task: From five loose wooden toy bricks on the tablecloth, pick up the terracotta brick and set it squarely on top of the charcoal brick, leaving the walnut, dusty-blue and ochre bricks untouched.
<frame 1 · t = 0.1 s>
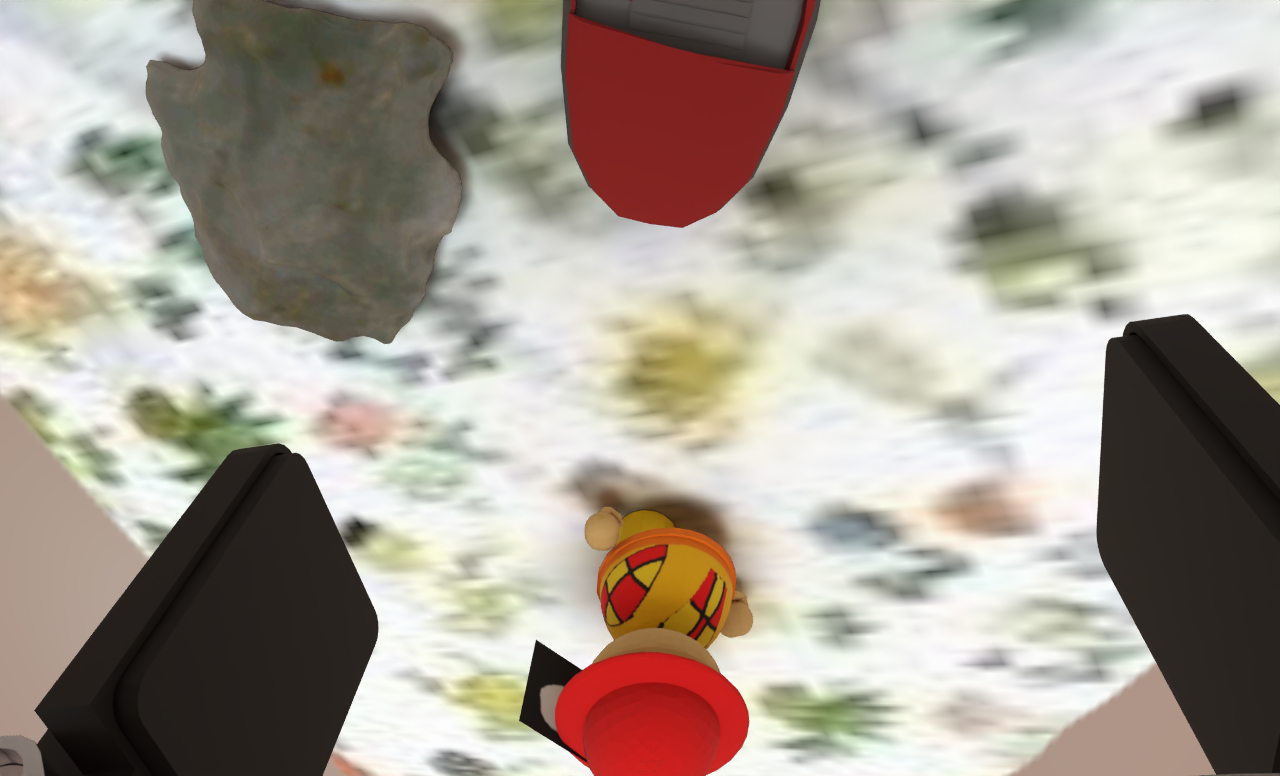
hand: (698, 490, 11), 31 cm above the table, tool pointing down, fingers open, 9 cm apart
artifact: (321, 166, 42), on the table
toy: (660, 549, 52), on the table
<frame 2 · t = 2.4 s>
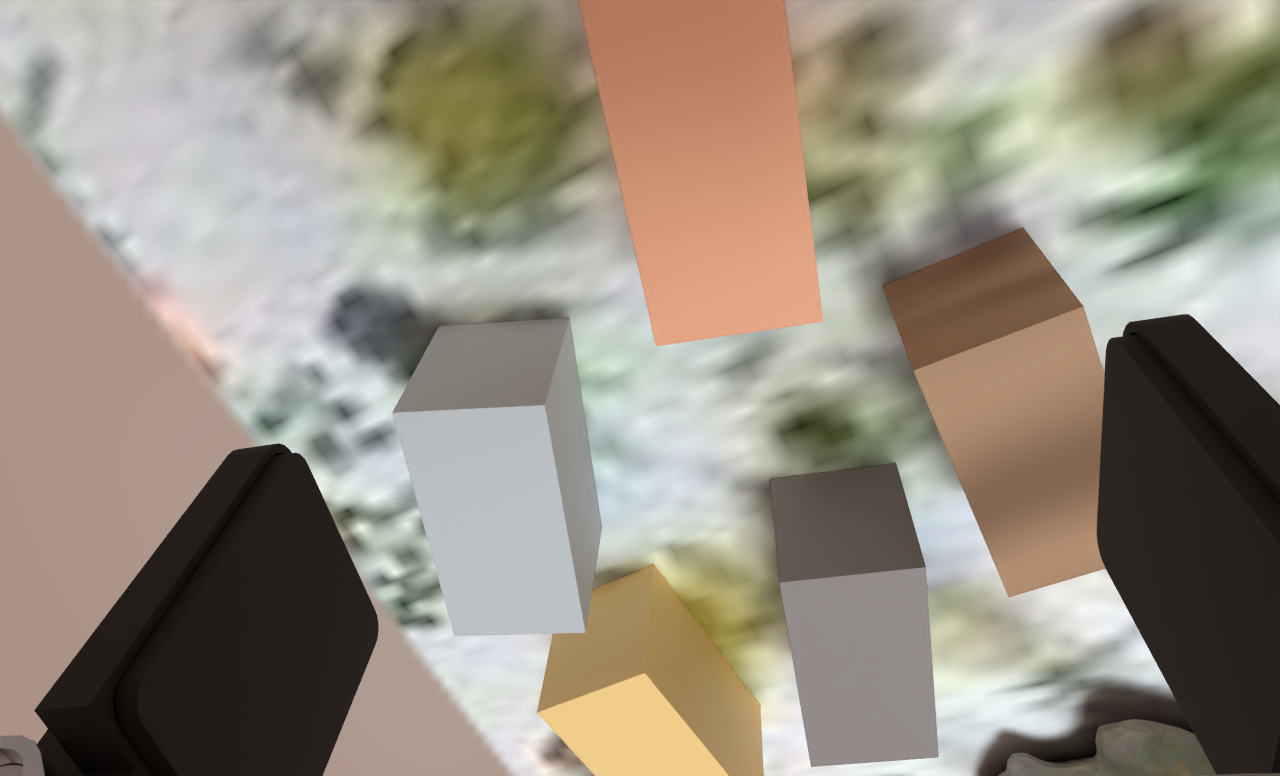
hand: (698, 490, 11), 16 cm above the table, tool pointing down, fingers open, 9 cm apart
terracotta brick: (711, 111, 25), on the table
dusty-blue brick: (526, 430, 30), on the table
ochre brick: (662, 652, 35), on the table
charcoal brick: (843, 562, 32), on the table
walnut brick: (992, 367, 28), on the table
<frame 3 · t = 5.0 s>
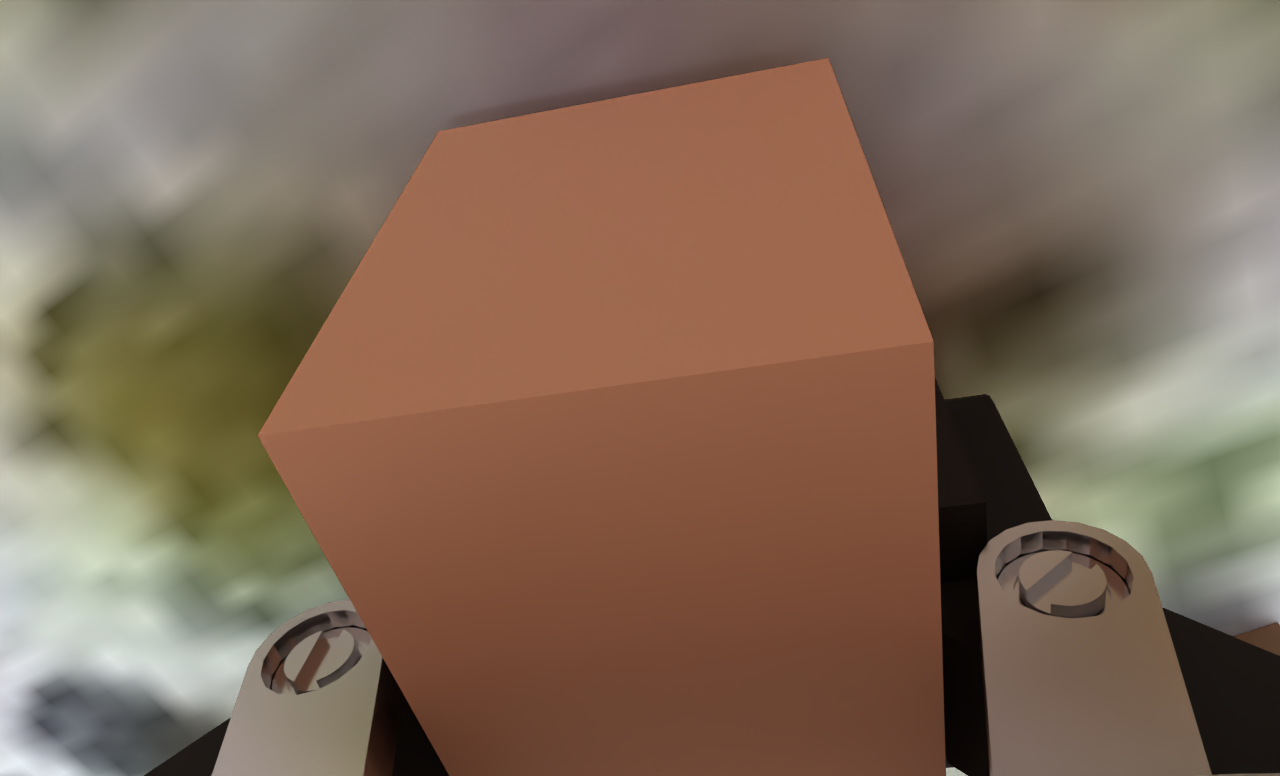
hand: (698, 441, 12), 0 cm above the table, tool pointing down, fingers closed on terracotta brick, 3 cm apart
terracotta brick: (694, 408, 12), on the table, tilted 5°, touching gripper
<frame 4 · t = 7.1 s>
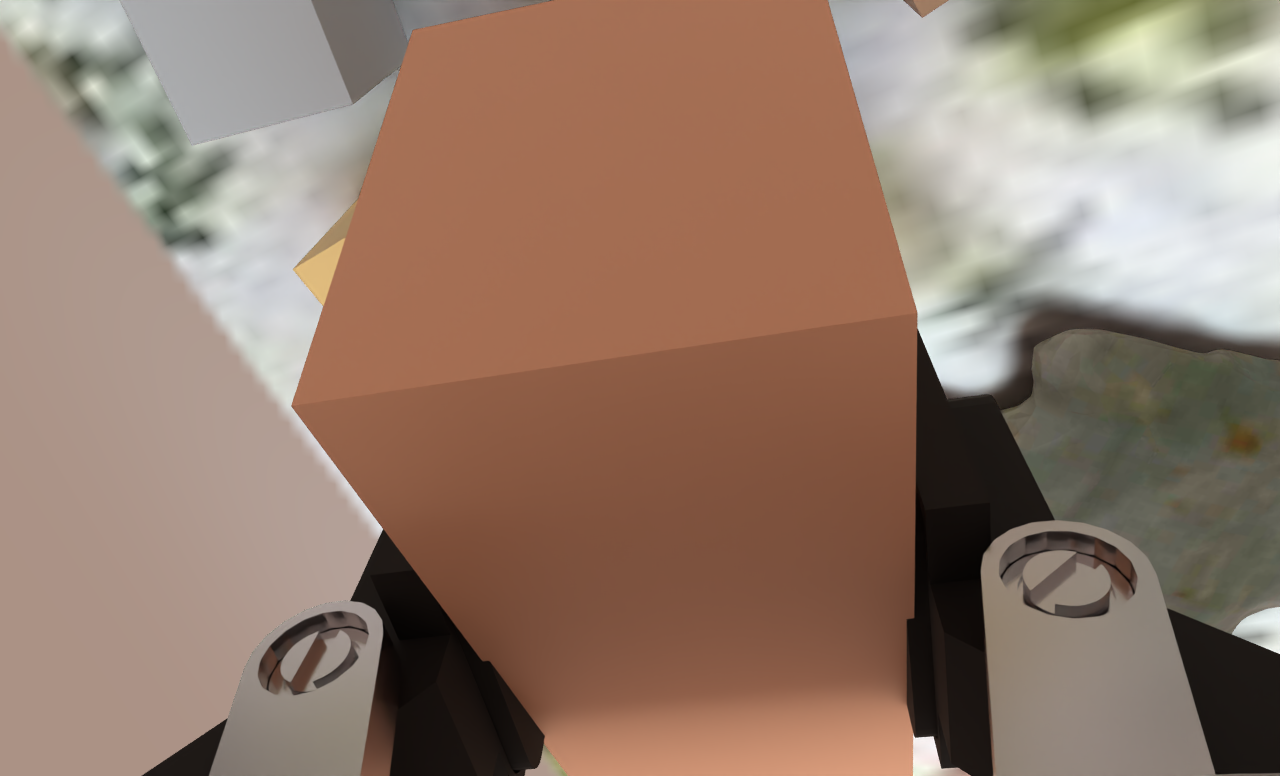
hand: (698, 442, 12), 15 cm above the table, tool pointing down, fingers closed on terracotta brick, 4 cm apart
terracotta brick: (678, 288, 12), point 14 cm above the table, tilted 17°, touching gripper
artifact: (1076, 503, 31), on the table
ochre brick: (495, 278, 28), on the table
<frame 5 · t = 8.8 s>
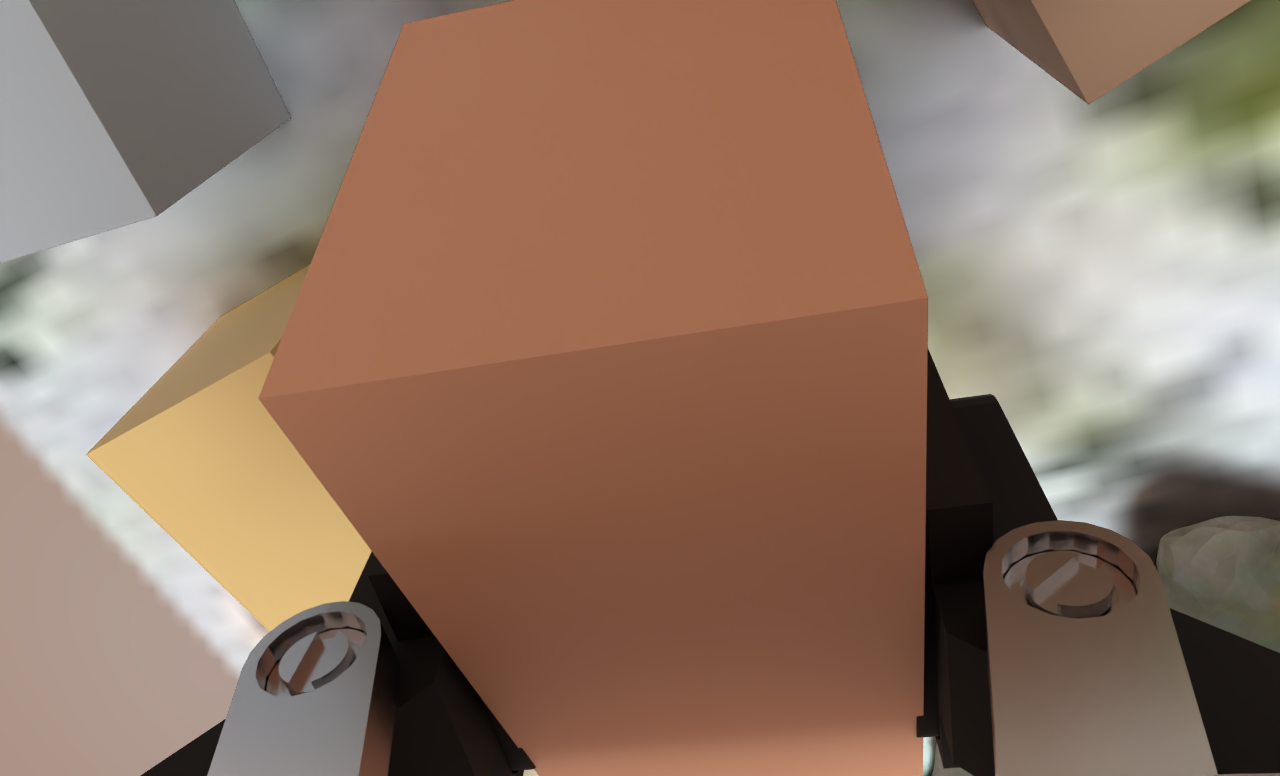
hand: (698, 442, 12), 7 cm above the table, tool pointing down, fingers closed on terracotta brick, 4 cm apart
terracotta brick: (678, 296, 12), point 6 cm above the table, tilted 15°, touching charcoal brick, gripper
artifact: (1189, 699, 24), on the table
ochre brick: (416, 419, 21), on the table
when the fingers open (6 cm above the table, at t = 9.5 s): terracotta brick drops 1 cm, resting on charcoal brick.
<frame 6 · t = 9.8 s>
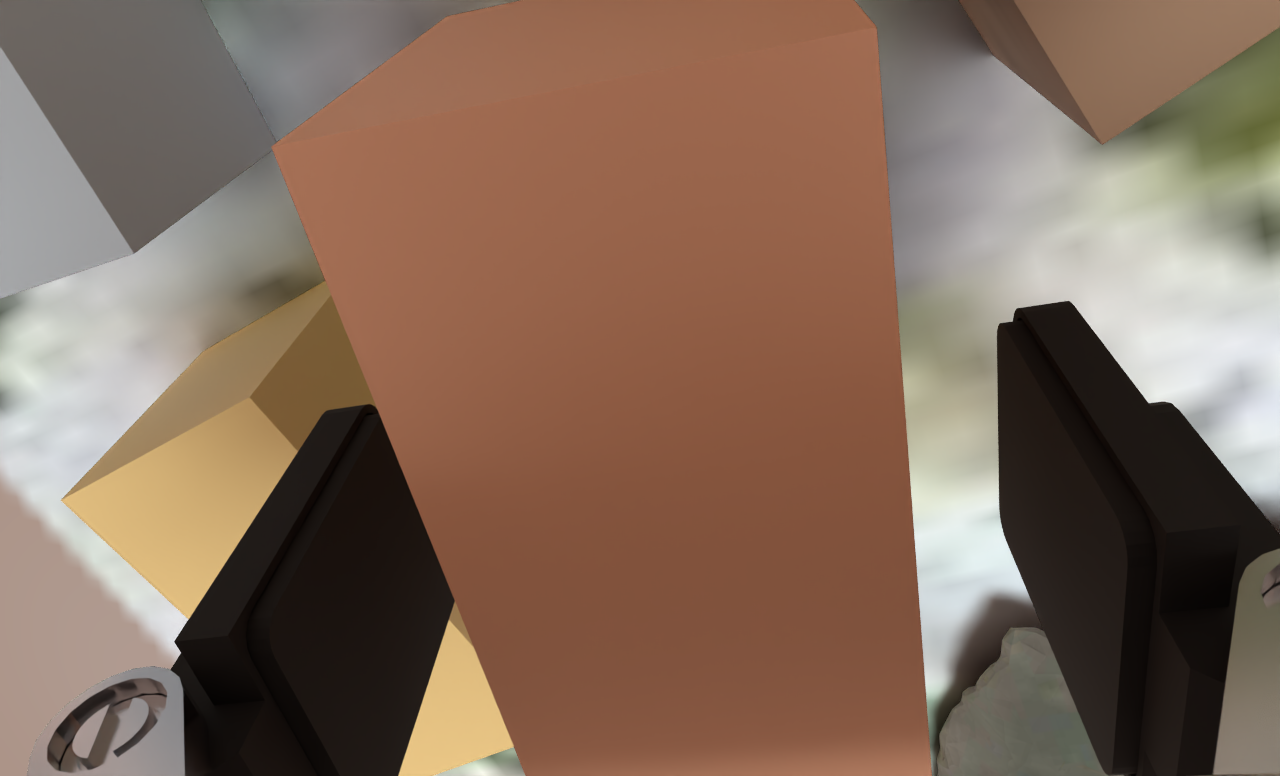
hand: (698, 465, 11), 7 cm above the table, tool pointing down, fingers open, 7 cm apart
terracotta brick: (684, 304, 12), point 5 cm above the table, touching charcoal brick
artifact: (1194, 732, 23), on the table
ochre brick: (404, 454, 20), on the table
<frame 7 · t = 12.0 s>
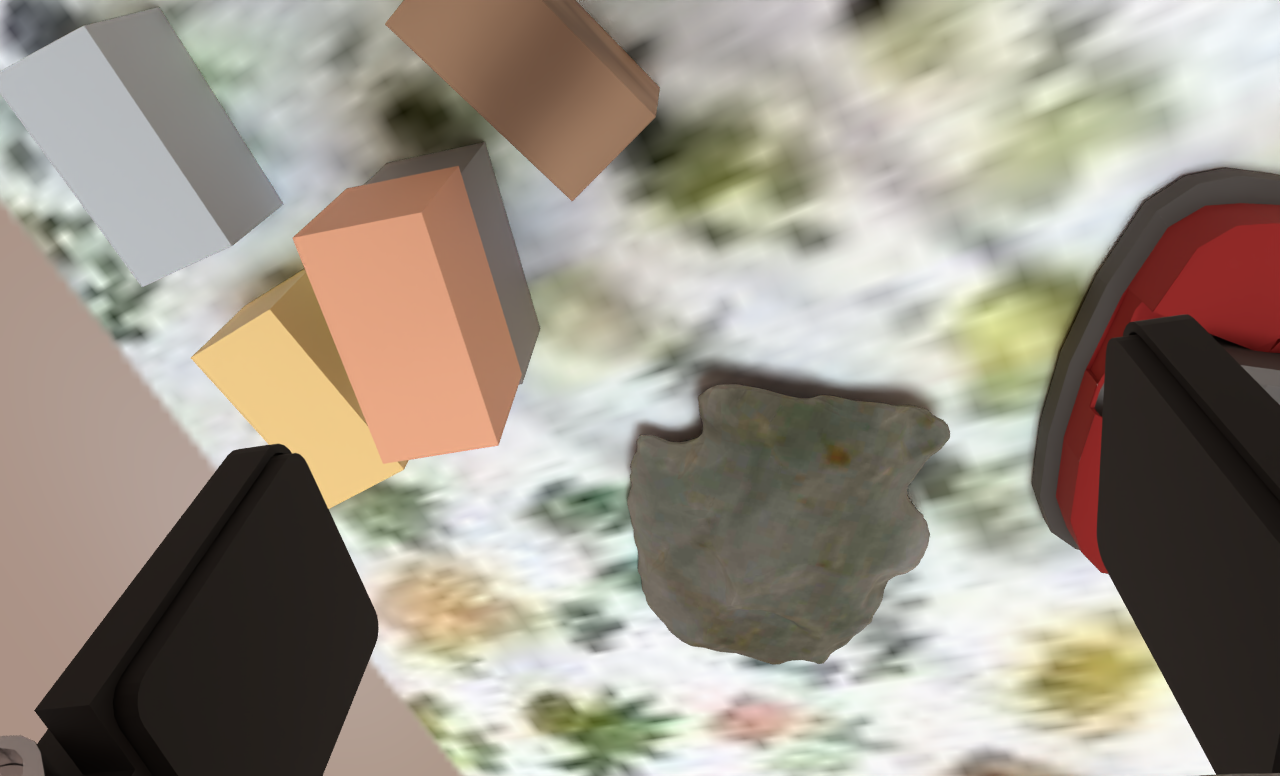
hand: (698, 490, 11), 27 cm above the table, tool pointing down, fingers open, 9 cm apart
terracotta brick: (438, 285, 34), point 5 cm above the table, touching charcoal brick
artifact: (769, 505, 44), on the table
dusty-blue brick: (183, 130, 36), on the table
ochre brick: (342, 357, 41), on the table
bumper car: (1179, 340, 39), on the table
charcoal brick: (467, 248, 38), on the table, touching terracotta brick
walnut brick: (543, 46, 34), on the table
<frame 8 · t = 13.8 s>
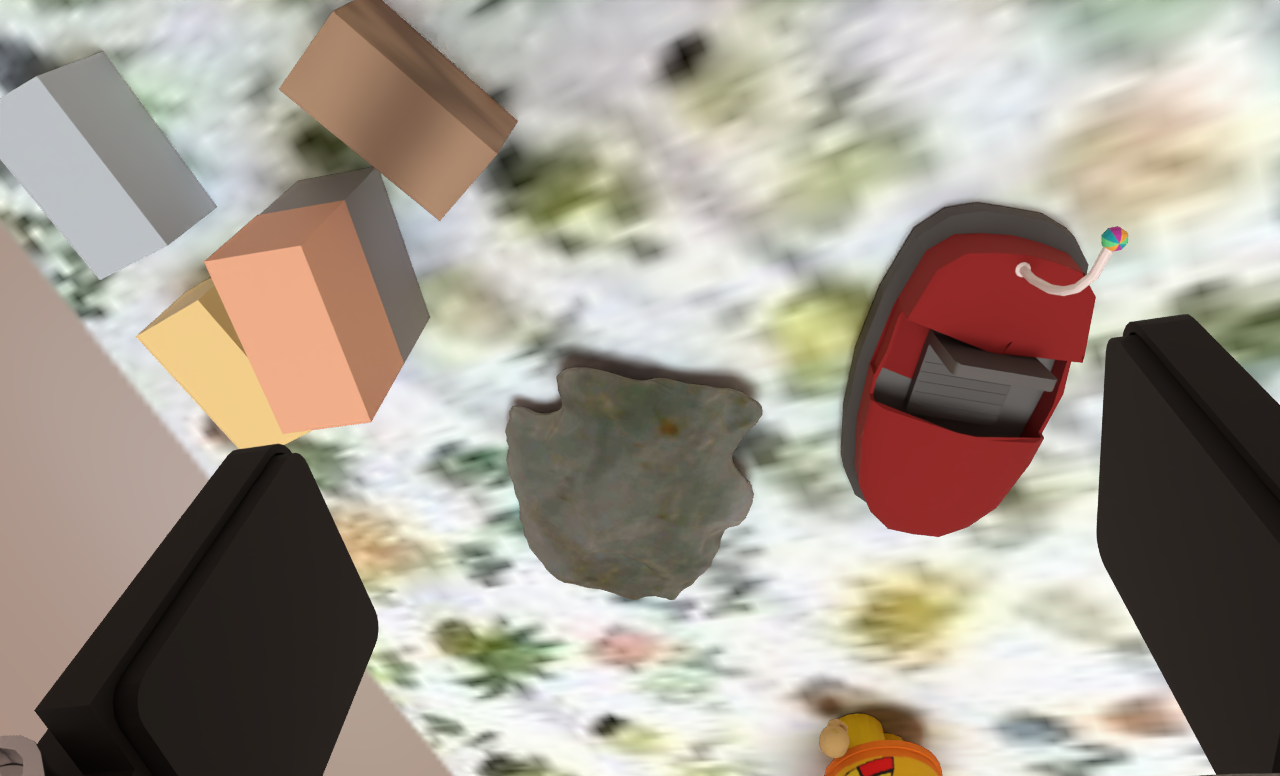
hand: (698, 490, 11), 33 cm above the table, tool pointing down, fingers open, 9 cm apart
terracotta brick: (333, 292, 42), point 5 cm above the table, touching charcoal brick
artifact: (628, 467, 53), on the table
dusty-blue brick: (131, 149, 44), on the table
toy: (865, 740, 62), on the table
ochre brick: (267, 336, 49), on the table
bumper car: (955, 339, 47), on the table
charcoal brick: (366, 251, 46), on the table, touching terracotta brick
walnut brick: (421, 91, 42), on the table
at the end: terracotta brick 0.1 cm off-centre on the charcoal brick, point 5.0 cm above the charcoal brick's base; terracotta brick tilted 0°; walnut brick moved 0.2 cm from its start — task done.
